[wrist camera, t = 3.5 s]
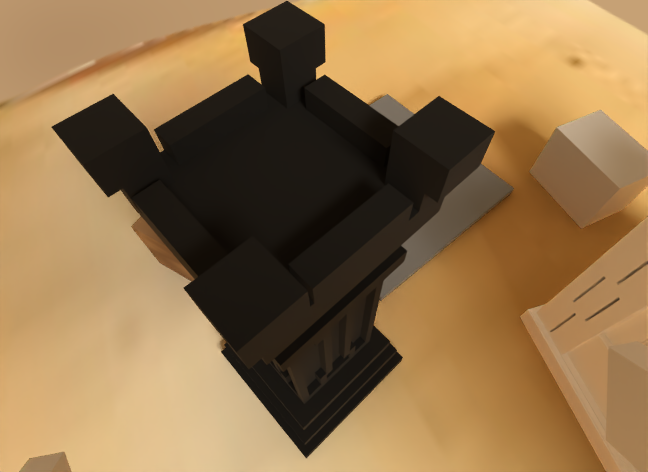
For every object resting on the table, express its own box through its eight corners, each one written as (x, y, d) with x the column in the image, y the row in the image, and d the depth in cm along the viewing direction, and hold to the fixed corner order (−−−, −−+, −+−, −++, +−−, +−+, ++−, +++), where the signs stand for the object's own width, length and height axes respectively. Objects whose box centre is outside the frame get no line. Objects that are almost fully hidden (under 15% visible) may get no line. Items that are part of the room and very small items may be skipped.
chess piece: (224, 355, 27) (27, 126, 10) (316, 277, 30) (288, -11, 12) (306, 458, 24) (231, 387, 7) (401, 360, 27) (520, 131, 9)
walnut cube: (159, 263, 31) (131, 226, 26) (203, 213, 33) (183, 172, 28) (214, 294, 29) (193, 261, 25) (255, 240, 31) (242, 202, 27)
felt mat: (262, 177, 34) (261, 172, 34) (386, 99, 39) (387, 94, 38) (380, 300, 29) (381, 297, 28) (511, 192, 33) (514, 188, 32)
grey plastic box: (528, 172, 34) (556, 127, 30) (568, 156, 35) (600, 109, 31) (580, 229, 31) (619, 188, 27) (622, 210, 32) (666, 167, 28)
